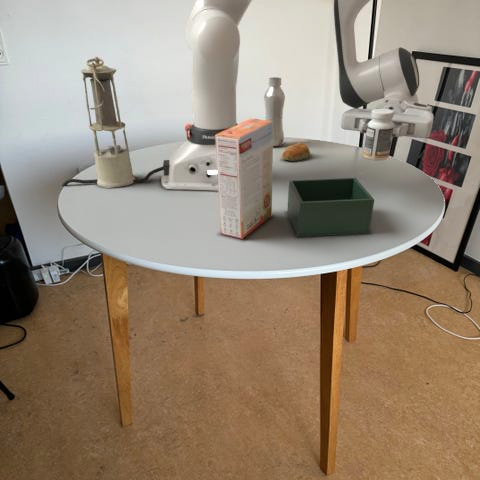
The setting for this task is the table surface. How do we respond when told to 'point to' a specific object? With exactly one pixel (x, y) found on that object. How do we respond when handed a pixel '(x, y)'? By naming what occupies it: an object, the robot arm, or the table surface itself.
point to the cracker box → (244, 176)
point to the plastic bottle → (275, 109)
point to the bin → (329, 207)
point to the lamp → (107, 127)
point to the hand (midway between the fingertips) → (379, 131)
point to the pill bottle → (379, 135)
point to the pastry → (296, 152)
